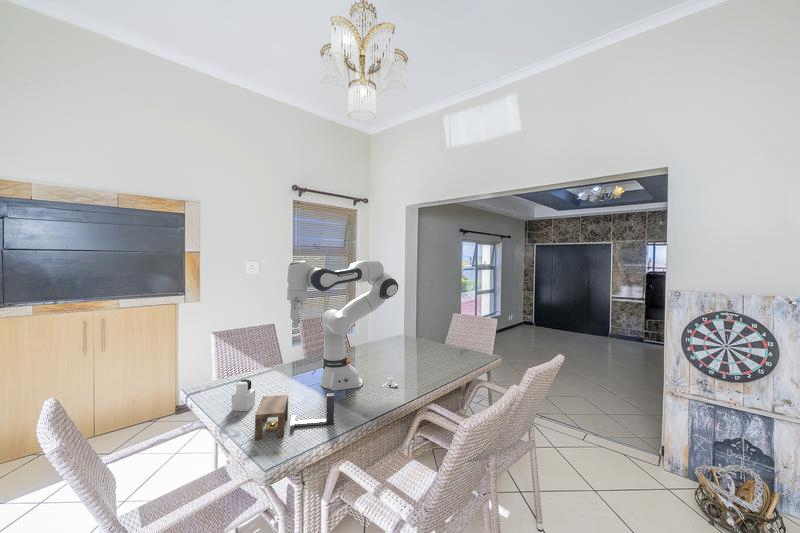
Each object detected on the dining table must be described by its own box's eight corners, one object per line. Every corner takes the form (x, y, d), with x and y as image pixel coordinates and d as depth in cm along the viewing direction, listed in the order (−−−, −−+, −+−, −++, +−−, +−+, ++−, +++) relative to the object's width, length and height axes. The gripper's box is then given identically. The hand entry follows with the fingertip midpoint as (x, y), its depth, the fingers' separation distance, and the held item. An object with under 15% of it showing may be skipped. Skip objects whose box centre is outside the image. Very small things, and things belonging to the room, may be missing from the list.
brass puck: (279, 424, 135) (280, 419, 135) (278, 431, 130) (278, 426, 130) (266, 425, 134) (266, 420, 134) (264, 432, 129) (264, 427, 129)
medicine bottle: (239, 403, 152) (240, 377, 152) (255, 404, 152) (255, 378, 151) (231, 410, 145) (231, 383, 145) (247, 411, 145) (248, 384, 144)
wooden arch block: (287, 417, 141) (288, 395, 141) (283, 437, 126) (283, 412, 125) (262, 418, 139) (263, 396, 139) (254, 440, 123) (255, 414, 123)
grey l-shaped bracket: (333, 418, 141) (334, 390, 141) (333, 428, 134) (334, 398, 133) (291, 421, 138) (292, 392, 137) (289, 431, 130) (290, 401, 129)
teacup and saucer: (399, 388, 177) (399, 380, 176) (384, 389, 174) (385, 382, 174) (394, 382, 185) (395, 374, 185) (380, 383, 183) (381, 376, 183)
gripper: (302, 299, 145) (301, 330, 145) (306, 293, 165) (305, 321, 166) (287, 299, 144) (286, 330, 144) (292, 293, 164) (292, 321, 164)
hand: (296, 325), depth 155 cm, fingers open, 8 cm apart
